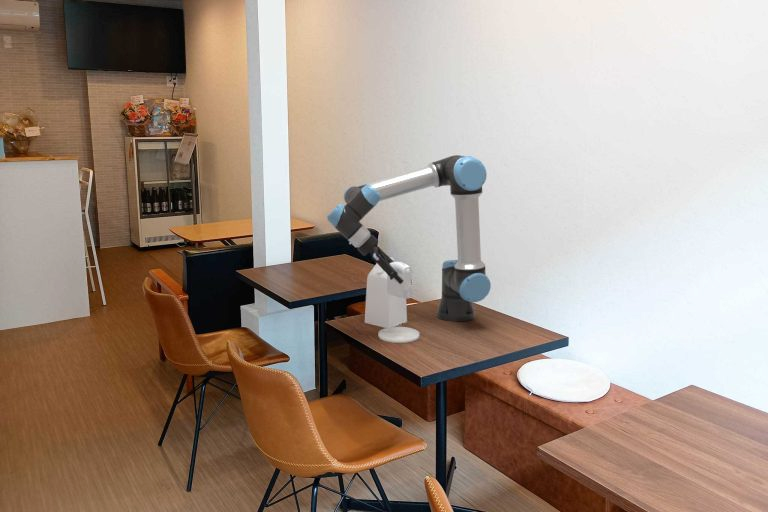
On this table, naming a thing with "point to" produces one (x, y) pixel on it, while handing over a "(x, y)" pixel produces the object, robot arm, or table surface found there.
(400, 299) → the milk
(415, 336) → the white plate
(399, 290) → the photo printer
